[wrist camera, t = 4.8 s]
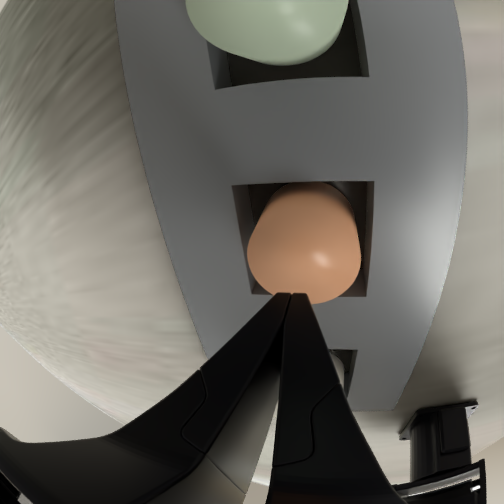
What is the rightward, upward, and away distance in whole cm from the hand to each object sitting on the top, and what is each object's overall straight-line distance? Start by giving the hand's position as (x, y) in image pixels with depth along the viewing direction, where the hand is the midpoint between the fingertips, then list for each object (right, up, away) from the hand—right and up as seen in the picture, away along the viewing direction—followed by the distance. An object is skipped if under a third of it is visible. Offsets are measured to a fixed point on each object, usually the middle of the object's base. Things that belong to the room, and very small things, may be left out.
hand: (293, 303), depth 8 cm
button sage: (0, +9, -1) cm, 9 cm away
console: (+1, +3, +4) cm, 5 cm away
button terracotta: (+1, +3, +4) cm, 5 cm away
